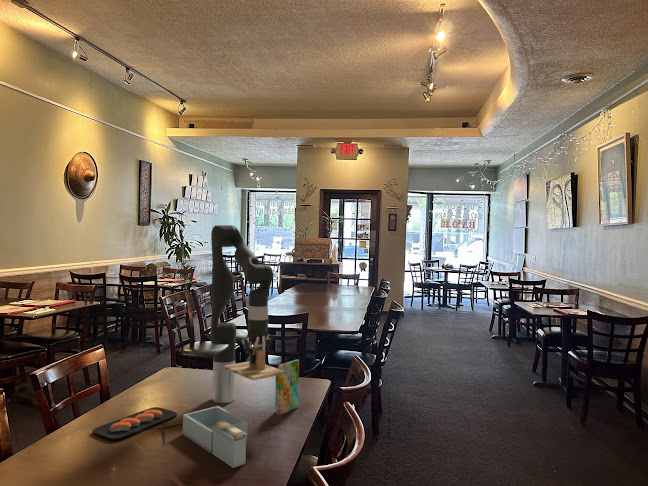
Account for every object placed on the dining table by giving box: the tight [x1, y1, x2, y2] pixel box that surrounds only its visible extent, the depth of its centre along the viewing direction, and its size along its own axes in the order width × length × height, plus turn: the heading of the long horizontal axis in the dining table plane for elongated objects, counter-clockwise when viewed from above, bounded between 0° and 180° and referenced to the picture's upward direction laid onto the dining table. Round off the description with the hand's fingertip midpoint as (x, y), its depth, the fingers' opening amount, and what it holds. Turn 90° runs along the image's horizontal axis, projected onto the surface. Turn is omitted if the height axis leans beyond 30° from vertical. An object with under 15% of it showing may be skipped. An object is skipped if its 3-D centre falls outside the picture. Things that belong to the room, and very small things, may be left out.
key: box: [216, 420, 243, 440], centre depth 149 cm, size 12×2×2 cm, turn 43°
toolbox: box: [182, 405, 249, 469], centre depth 160 cm, size 33×14×9 cm, turn 43°
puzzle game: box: [274, 359, 300, 416], centre depth 193 cm, size 12×5×20 cm, turn 144°
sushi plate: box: [92, 406, 183, 446], centre depth 171 cm, size 29×30×4 cm
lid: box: [224, 347, 284, 381], centre depth 175 cm, size 20×14×8 cm
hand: (257, 363), depth 176 cm, fingers closed on lid, 3 cm apart
